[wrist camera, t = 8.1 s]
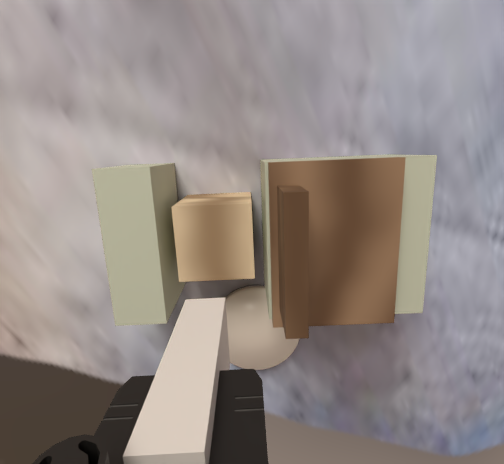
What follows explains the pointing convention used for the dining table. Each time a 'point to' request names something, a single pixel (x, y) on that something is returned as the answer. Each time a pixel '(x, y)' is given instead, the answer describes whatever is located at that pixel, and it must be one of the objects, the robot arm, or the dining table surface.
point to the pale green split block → (163, 241)
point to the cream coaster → (254, 331)
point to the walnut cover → (334, 241)
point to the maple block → (214, 237)
